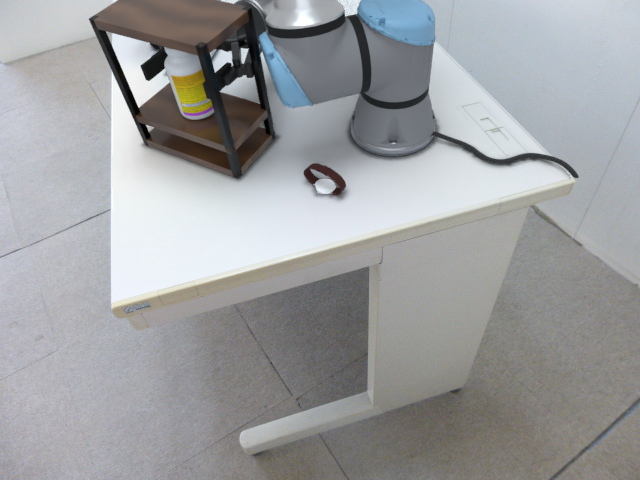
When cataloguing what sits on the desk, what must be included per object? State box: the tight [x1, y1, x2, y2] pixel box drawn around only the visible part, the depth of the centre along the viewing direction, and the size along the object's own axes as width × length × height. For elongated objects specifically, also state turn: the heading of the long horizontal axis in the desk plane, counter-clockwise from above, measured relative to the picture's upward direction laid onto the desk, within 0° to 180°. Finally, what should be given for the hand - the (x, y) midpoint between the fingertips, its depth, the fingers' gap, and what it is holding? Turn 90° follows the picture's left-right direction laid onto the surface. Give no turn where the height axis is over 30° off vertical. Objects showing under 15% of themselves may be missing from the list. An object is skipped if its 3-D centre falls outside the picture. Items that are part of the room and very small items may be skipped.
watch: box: [303, 162, 347, 196], centre depth 82 cm, size 8×5×4 cm
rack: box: [88, 0, 277, 180], centre depth 84 cm, size 12×22×24 cm, turn 60°
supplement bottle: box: [164, 47, 214, 120], centre depth 84 cm, size 7×7×13 cm
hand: (174, 82), depth 81 cm, fingers open, 12 cm apart
